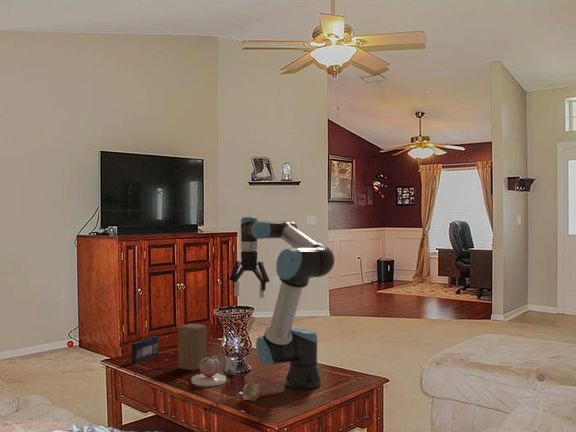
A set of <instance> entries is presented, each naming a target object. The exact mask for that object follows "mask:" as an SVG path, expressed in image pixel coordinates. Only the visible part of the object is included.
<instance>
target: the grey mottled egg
mask: <svg viewBox="0 0 576 432" xmlns="http://www.w3.org/2000/svg"><path fill="white" fill-rule="evenodd" d="M224 360H225V361H224V363H225V364H224V365H225V367H224V369H225V370H224V372H225V373H224V375H225V374H226V375H225V376H229V375H230V376H231V375H232V376H236V375H237V357H234V356H230V357H226V358H225V359H224ZM235 374H236V375H235ZM232 376H231V377H232Z"/></svg>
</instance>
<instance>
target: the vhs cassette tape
mask: <svg viewBox="0 0 576 432" xmlns="http://www.w3.org/2000/svg"><path fill="white" fill-rule="evenodd" d="M159 341H160V338H159V336H158V335H155V336H150V337H148V338H144V339H142V340H138V341H135V342H132V343H131V364H133V365H137V364H140V363H143V362H145V361H148V360H150V359H154V358H156V357H159V353H160V352H159V350H160V349H159V347H160V346H159V344H160V343H159Z"/></svg>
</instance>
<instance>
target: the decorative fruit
mask: <svg viewBox="0 0 576 432" xmlns="http://www.w3.org/2000/svg"><path fill="white" fill-rule="evenodd" d="M220 368H221V362H220V360H219V357H218V356H216V355H210V354H209V356H208V357H207V356H206V358H204V359H202V360H201V362H200V364H199V369H198V370H199V371H200V374H203V375H204V376H206V377H208V378H211V377H212V376H214V375H215V374H216V373H218V372H219V370H220Z"/></svg>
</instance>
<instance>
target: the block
mask: <svg viewBox="0 0 576 432" xmlns="http://www.w3.org/2000/svg"><path fill="white" fill-rule="evenodd" d="M206 357H207V325H205V324H199V323H193V322H192V323H187V324H184V325H180V326H178V327H177V368H178V369H180V370H186V371H193V372H195V371H197V370H200V369H199V364H200V362H201V360H202V359H204V358H206Z"/></svg>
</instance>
